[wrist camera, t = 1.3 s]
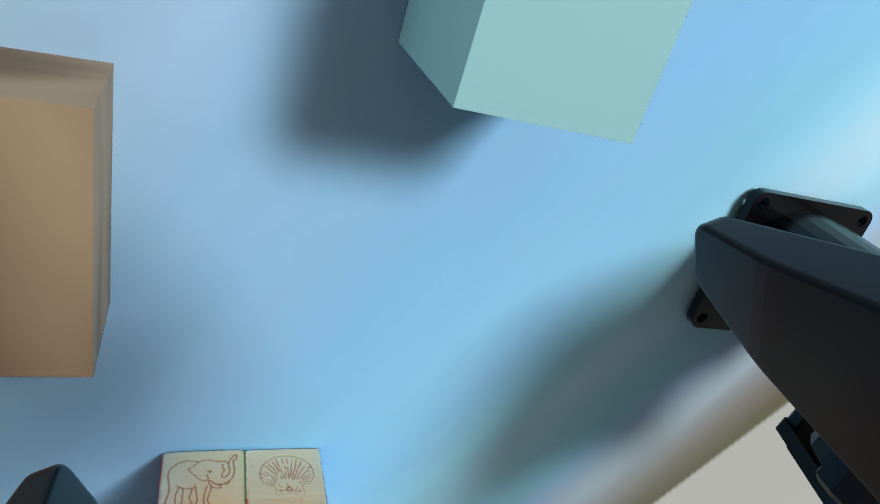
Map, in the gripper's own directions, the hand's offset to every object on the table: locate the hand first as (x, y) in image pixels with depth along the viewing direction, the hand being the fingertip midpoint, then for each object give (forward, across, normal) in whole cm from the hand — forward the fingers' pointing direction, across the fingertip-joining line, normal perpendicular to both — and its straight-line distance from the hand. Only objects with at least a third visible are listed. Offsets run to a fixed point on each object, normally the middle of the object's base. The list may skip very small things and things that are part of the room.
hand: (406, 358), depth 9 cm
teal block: (+13, -7, -1) cm, 15 cm away
